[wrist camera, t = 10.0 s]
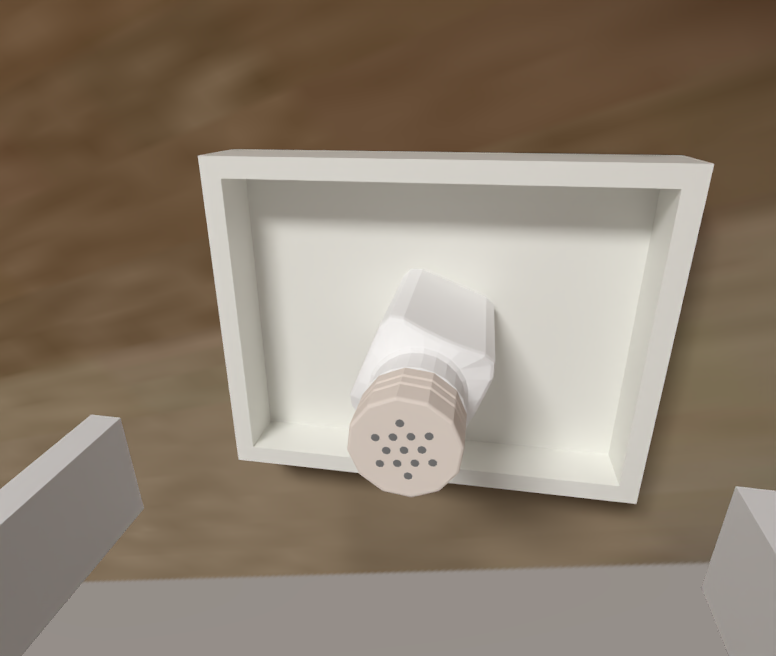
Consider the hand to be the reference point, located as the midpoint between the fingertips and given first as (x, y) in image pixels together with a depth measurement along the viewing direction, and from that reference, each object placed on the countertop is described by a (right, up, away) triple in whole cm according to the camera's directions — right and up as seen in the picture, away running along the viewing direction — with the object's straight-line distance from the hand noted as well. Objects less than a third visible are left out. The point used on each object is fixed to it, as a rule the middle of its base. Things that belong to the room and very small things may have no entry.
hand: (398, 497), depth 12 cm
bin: (+2, +4, +12) cm, 13 cm away
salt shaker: (+2, +4, +11) cm, 12 cm away
